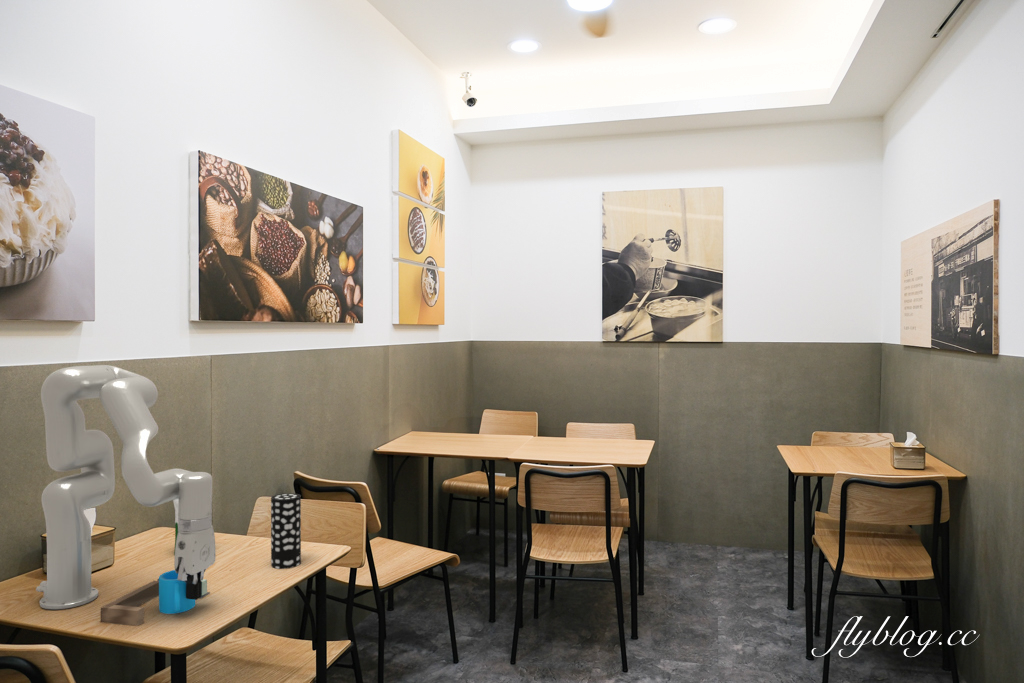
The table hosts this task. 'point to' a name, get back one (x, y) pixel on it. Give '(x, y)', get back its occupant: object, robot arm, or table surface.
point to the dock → (130, 606)
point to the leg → (204, 586)
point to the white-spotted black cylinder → (285, 530)
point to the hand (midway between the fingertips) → (193, 597)
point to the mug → (173, 594)
